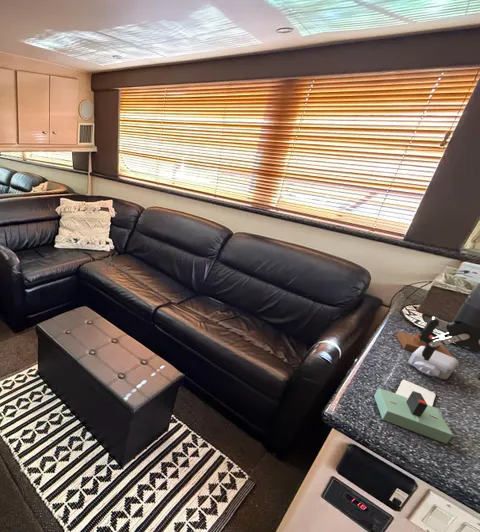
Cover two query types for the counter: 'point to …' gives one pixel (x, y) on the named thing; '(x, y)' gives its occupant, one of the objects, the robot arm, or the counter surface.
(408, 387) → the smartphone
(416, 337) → the button block
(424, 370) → the charger
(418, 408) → the black block
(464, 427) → the counter surface
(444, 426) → the panel
